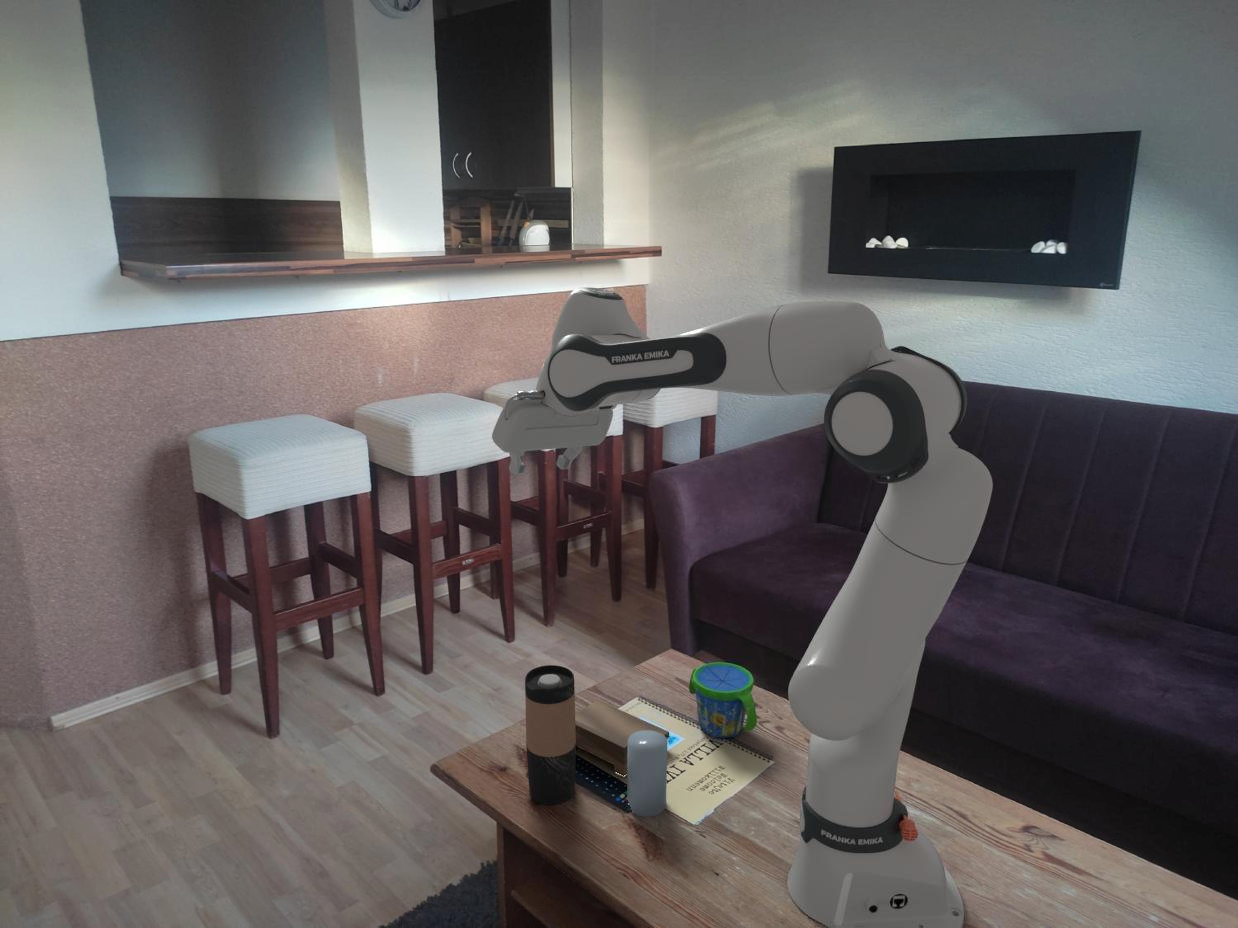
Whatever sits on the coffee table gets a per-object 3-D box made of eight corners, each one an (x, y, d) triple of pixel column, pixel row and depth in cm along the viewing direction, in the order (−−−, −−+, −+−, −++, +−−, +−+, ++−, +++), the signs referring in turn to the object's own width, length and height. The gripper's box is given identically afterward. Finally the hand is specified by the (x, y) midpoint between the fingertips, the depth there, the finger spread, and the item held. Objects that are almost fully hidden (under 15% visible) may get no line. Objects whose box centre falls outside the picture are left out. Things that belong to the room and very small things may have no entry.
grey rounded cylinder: (666, 792, 140) (667, 731, 137) (665, 817, 134) (666, 753, 131) (628, 790, 141) (628, 729, 138) (625, 815, 135) (626, 751, 132)
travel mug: (579, 777, 144) (578, 665, 138) (572, 807, 137) (570, 691, 131) (532, 774, 145) (529, 663, 139) (523, 804, 137) (519, 688, 132)
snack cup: (772, 742, 154) (775, 689, 151) (721, 759, 149) (723, 705, 146) (720, 699, 167) (722, 650, 164) (672, 714, 162) (673, 663, 159)
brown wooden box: (597, 714, 162) (597, 684, 160) (668, 747, 152) (669, 715, 150) (551, 743, 153) (551, 712, 151) (624, 780, 143) (624, 747, 142)
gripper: (523, 402, 123) (496, 486, 129) (627, 399, 138) (598, 475, 144) (498, 381, 127) (473, 464, 133) (601, 380, 141) (575, 454, 147)
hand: (539, 469), depth 138 cm, fingers open, 8 cm apart
